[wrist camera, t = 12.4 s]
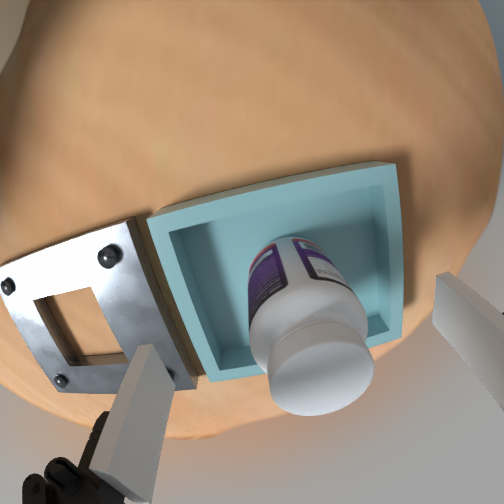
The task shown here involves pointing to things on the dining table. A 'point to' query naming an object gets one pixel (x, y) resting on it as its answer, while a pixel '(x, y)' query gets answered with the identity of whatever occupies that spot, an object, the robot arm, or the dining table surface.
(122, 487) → the robot arm
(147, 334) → the plate
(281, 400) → the pill bottle
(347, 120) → the dining table surface
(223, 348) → the tray
